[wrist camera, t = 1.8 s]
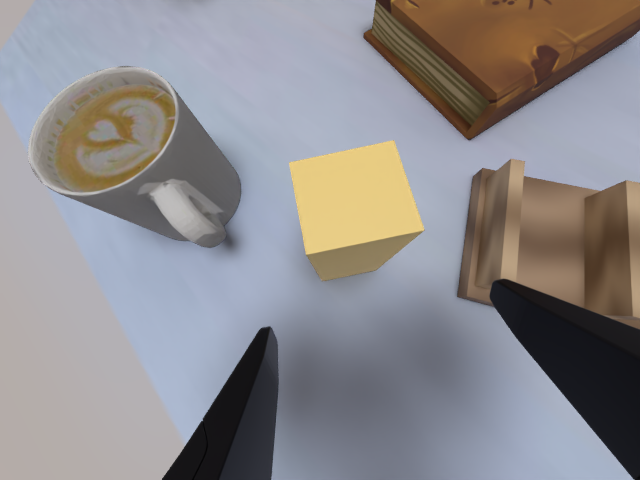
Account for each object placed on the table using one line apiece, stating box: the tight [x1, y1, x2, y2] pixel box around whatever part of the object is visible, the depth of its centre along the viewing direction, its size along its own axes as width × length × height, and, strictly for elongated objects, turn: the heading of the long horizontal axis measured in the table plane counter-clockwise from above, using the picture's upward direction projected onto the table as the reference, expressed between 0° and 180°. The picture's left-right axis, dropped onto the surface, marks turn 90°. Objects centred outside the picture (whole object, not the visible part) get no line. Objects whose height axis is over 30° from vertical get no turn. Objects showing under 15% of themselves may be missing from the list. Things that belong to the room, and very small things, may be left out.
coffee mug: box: [28, 66, 241, 248], centre depth 19 cm, size 13×10×10 cm
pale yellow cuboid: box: [289, 140, 424, 281], centre depth 16 cm, size 4×5×12 cm
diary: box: [363, 0, 640, 139], centre depth 25 cm, size 23×19×6 cm
